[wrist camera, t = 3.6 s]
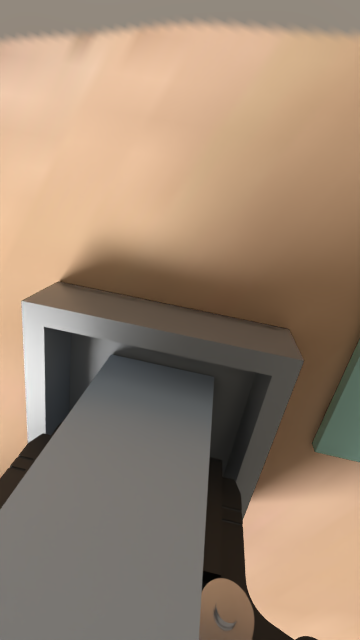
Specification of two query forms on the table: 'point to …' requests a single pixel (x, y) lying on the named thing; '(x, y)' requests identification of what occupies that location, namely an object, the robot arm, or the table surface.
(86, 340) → the case
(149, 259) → the table surface
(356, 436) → the pad
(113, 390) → the module
